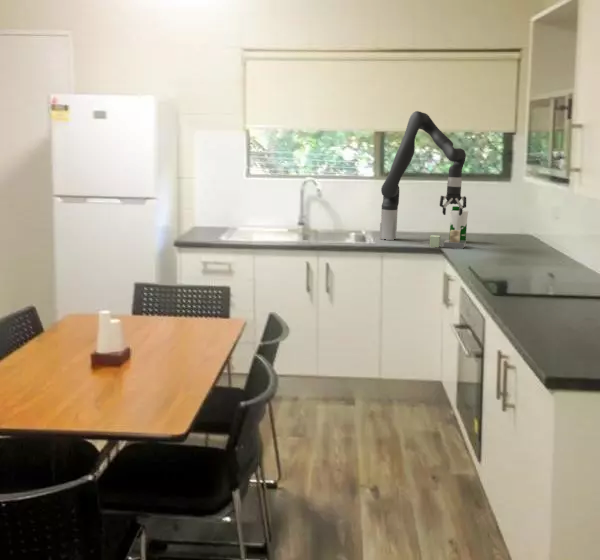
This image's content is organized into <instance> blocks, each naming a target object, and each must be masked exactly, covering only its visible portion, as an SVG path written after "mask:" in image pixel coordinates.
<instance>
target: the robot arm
mask: <svg viewBox="0 0 600 560" xmlns="http://www.w3.org/2000/svg"><path fill="white" fill-rule="evenodd" d="M419 130H421V131H424V132H425V133H426V134H428V135H429V136H430V138H431V139H432V141H433V143H434V144H435V145H436V146H437V147H438V148H439V149H440V150H441V151H442V152H443V154H444V156H445V158H446V159H447V160H448V161H450V162H453V164H452V165H451V166H450V167H448V168H449V169H448V174H447V175H448V178H447V183H446V195H440V199H439V207H441V208H442V212H441V213H442V215H444V216H446V215H447V214H446V213H447V207H448V206H449V205H457V206H458V207H460V208H459V215H460V216H461V214H462V210H464V208H465V209H466V208H467V197H466V195H464V196H462V195H461V194H462V177H463V176H462V175H463V167H464V165H465V162H466V158H467V156H466V152H465V149H463V148H455V147H454V142H453V141H452V140H451V139H450V138H449V137H448V136H447V135H446V134H445V133H443V132H442V130H441V129H440V128H439V127H438V126H437V125H436V124H435V122H434V121H433V120H432V118H431V117H430V115H429V114H428V113H426V112H423V111H419V110H416V111H414V112H412V114H411V115H410V117H409V118H408V122H407V125H406V129H405V131H404V134H403V137H402V139H401V142H400V145H399V146H398V149H397V151H396V154H395V156H394V158H393V162H392V164H391V167H390V170H389V172H388V175H387V176H386V178H385V181H384V182H383V184H382V186H381V191H380V192H381V195H382V196H383V197H382V199H383V200H382V203H381V211H380V212H381V214H380V217H381V219H380V223H379V240H384V239H386V241H395V240H394V239H396V240H397V232H398V231H397V230H398V211H399V209H398V208H399V204H400V203H399V202H400V186H399V184H400V181H401V178H402V177H403V175H404V174H405V172H406V171H407V169H408V167H409V165H410V163H411V161H412V159H413V158H414V155H415V150H416V147H415V146H416V145H415V141H416V137H417V134H418V132H419ZM445 199H446V201H445ZM444 201H445V203H444ZM460 201H462V203H461V202H460Z"/></svg>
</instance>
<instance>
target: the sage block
mask: <svg viewBox="0 0 600 560" xmlns="http://www.w3.org/2000/svg"><path fill="white" fill-rule="evenodd" d="M440 245H441V235H434V234H431V235H430V236H429V246H431V247H430V248H435V247H439V246H440ZM440 247H441V246H440ZM440 247H439V248H440Z"/></svg>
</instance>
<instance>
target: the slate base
mask: <svg viewBox="0 0 600 560" xmlns="http://www.w3.org/2000/svg"><path fill="white" fill-rule="evenodd" d="M466 246H467V240H466V241H462V240H460V241H459V242H450V240H449V239H445V240H444V241H443V247H452V248H451V249H457V248H464V247H465V248H466ZM465 248H464V249H465Z"/></svg>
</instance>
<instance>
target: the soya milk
mask: <svg viewBox="0 0 600 560" xmlns="http://www.w3.org/2000/svg"><path fill="white" fill-rule="evenodd" d="M459 208H460V207H459V206H458V205H457V206H456V205H455V206H454V205H453V206H452V208H451V209H450V210H449V214H450V215H449V216H450V219H449V220H450V221H449V222H450V223H449V232H450V231H451V230H460V240H462V241H466V242H467V229H468V228H467V226H468V213H469V211H468V210H464V209H462V214H461V216H460V215H459ZM448 236H449V237H448V240H450V234H449V235H448Z"/></svg>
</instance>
